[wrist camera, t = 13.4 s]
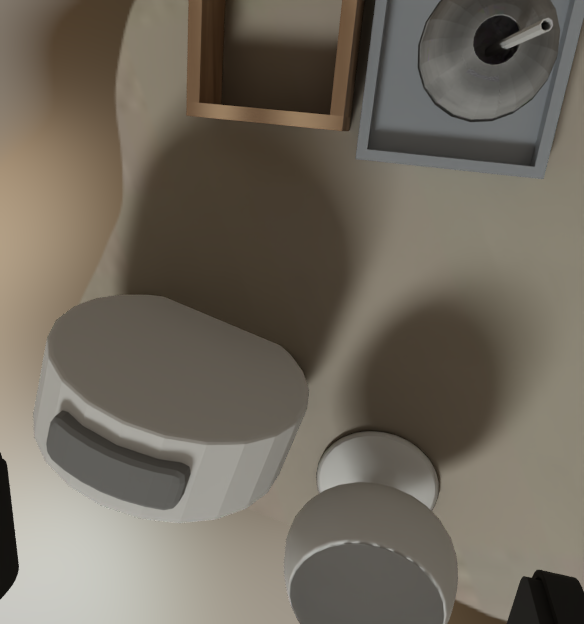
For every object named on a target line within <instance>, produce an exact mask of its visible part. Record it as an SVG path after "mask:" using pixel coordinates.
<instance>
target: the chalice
mask: <svg viewBox="0 0 584 624" xmlns="http://www.w3.org/2000/svg"><path fill="white" fill-rule="evenodd" d="M316 478H317V487H318V490H319V493H320V494H318V495H317V496H315V497H314V498H312V499H311V500H310V501H309V502H307V503H306V504H305V505H304V507H303V508H302V509H301V510H300V511H299V513H298V514H297V515H296V516H295V519H294V521H293V523H292V525H291V528H290V530H289V533H288V536H287V539H286V547H285V557H284V576H285V583H286V589H287V595H288V598H289V602H290V605H291V607H292V609H293V611H294V613H295V615H296V618H297V620H298V621H299V623H300V624H447V622H448V621H449V618H450V615H451V612H452V608H453V604H454V601H455V597H456V591H457V584H458V568H457V558H456V553H455V550H454V546H453V543H452V540H451V537H450V536H449V534H448V533H447V531H446V529H445V528H444V526H443V525H442V523H441V521H440V520H439V518H438V517H437V516H436V515H435V514H434V513H433V512H432V510H433V508H434V507H435V504H436V501H437V498H438V494H439V482H438V478H437V474H436V471H435V469H434V467H433V465H432V463H431V461H430V460H429V458H428V457H427V456H426V455H425V454H424V453H423V452H422V451H421V450H420V449H419V448H418V447H416V446H415V445H414V444H412V443H411V442H409V441H407V440H405V439H403V438H401V437H399V436H397V435H393V434H389V433H385V432H376V431H365V432H358V433H353V434H351V435H348V436H345V437H343V438H341V439H339V440H338V441H336V442H335V443H333V444H332V445H331V446H330V447H329V448H328V449H327V450H326V451H325V452H324V454H323V456H322V458H321V459H320V461H319V463H318V468H317V473H316Z"/></svg>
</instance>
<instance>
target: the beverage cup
mask: <svg viewBox="0 0 584 624" xmlns="http://www.w3.org/2000/svg"><path fill="white" fill-rule="evenodd" d="M559 38H560V27H559V22H558V17H557V12H556V8H555V7H554V5H553V4H552V2H551V0H441V1H439V3H438V4H437V6H436V7H435V9H434V10H433V12H432V13H431V15H430V16H429V18H428V19H427V21H426V22H425V25H424V29H423V32H422V35H421V38H420V41H419V44H418V71H419V75H420V78H421V82H422V85H423V88H424V90H425V91H426V93H427V94H428V96H429V97H430V99H431V100H432V102H433V103H434V104H435V105H436V106H437V107H438V108H440V109H441V110H443V111H444V112H445V113H447V114H448V115H450V116H451V117H454V118H458V119H461V120H465V121H468V122H487V121H494V120H497V119H500V118H502V117H505V116H508V115H511V114H513V113H515V112H516V111H517V110H519V109H520V108H521V107H523V106H524V105H526V104H527V103H528V102H530V101H531V100H532V99H533V98H534V97H535V95H536V94H537V93H538V92H539V90H540V89H541V88H542V87H543V85H544V84H545V83H546V82H547V80H548V78H549V75H550V73H551V71H552V68H553V66H554V63H555V61H556V59H557V55H558V47H559Z"/></svg>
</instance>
